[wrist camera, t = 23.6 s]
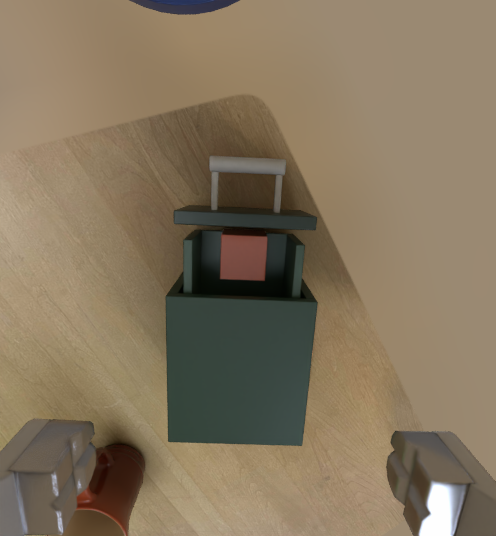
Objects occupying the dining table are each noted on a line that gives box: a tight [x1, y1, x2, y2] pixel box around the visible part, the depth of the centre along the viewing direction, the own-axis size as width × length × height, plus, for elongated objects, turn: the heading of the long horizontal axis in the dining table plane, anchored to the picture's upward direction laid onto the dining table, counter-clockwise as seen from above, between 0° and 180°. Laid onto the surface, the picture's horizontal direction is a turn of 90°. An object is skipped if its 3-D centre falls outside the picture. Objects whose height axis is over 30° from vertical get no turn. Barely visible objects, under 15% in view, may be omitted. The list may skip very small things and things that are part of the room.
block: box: [220, 229, 268, 281], centre depth 33 cm, size 4×4×4 cm
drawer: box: [174, 156, 317, 298], centre depth 33 cm, size 20×13×8 cm, turn 177°
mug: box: [47, 444, 145, 536], centre depth 40 cm, size 12×9×10 cm
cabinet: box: [166, 272, 317, 446], centre depth 36 cm, size 16×14×10 cm
